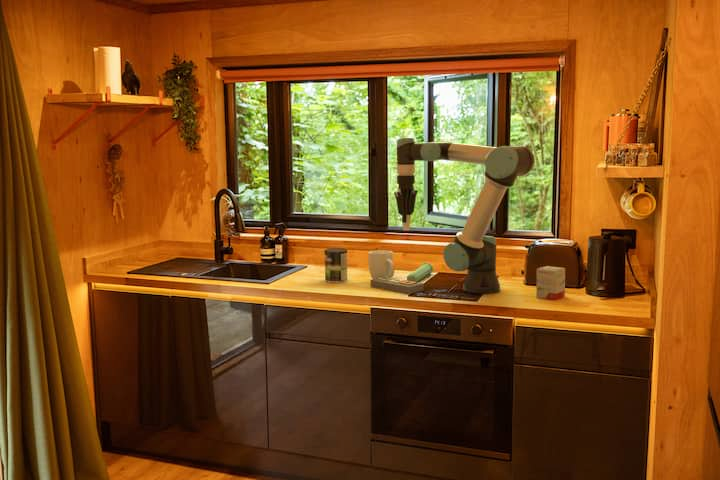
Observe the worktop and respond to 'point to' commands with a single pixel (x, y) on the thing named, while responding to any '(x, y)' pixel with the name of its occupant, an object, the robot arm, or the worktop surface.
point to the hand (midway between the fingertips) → (406, 230)
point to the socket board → (397, 286)
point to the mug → (381, 264)
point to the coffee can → (336, 265)
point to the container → (420, 272)
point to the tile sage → (384, 278)
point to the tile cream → (396, 281)
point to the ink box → (550, 282)
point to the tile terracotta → (408, 283)
